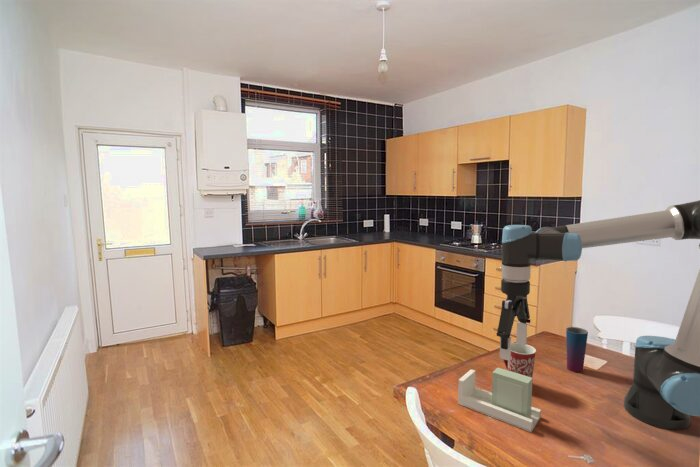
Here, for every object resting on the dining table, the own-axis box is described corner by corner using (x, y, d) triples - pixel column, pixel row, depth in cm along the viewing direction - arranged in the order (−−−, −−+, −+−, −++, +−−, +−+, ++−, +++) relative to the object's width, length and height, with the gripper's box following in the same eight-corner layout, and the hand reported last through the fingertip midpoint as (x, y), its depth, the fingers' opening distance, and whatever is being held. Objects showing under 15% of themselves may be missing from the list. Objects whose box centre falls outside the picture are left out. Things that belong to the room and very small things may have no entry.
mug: (540, 390, 125) (542, 351, 123) (518, 395, 122) (519, 355, 121) (514, 372, 137) (515, 337, 135) (493, 376, 134) (494, 340, 133)
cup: (585, 367, 140) (588, 329, 138) (585, 375, 134) (587, 335, 132) (564, 363, 143) (566, 325, 142) (563, 370, 138) (565, 331, 136)
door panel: (531, 416, 110) (532, 377, 108) (526, 423, 106) (527, 383, 105) (496, 404, 116) (497, 367, 115) (491, 410, 113) (492, 372, 112)
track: (540, 417, 110) (541, 391, 109) (531, 432, 103) (532, 405, 103) (470, 392, 124) (471, 369, 123) (458, 403, 118) (458, 379, 117)
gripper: (516, 270, 118) (514, 334, 121) (484, 286, 100) (483, 362, 102) (542, 273, 113) (540, 340, 116) (514, 291, 95) (512, 370, 97)
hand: (513, 351), depth 109 cm, fingers open, 13 cm apart
